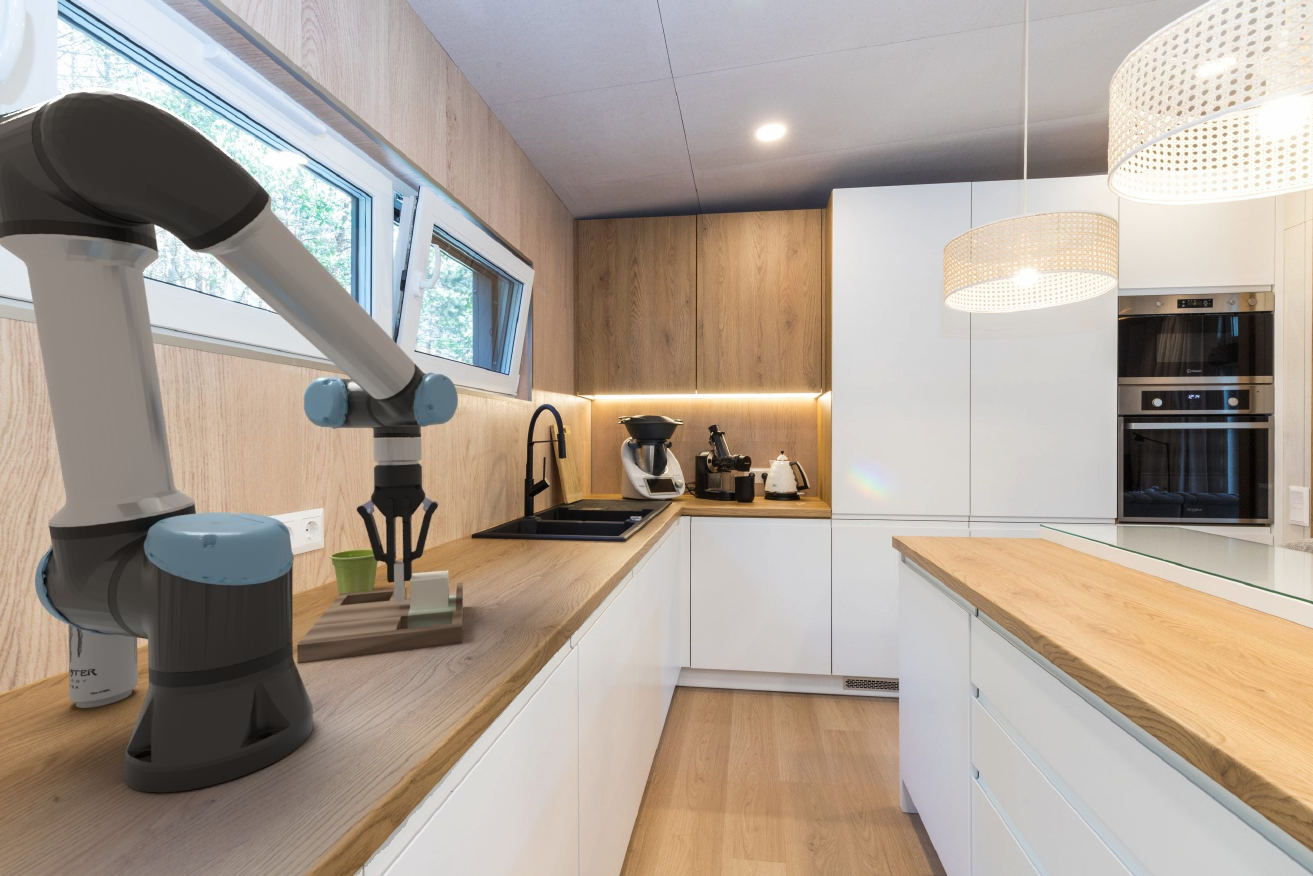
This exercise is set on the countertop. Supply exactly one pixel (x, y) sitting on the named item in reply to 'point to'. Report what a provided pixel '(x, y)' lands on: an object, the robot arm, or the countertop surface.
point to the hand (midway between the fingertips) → (400, 600)
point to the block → (429, 590)
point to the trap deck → (380, 626)
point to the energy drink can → (101, 667)
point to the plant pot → (355, 570)
